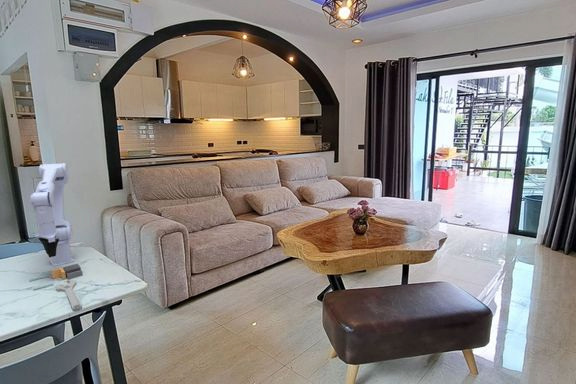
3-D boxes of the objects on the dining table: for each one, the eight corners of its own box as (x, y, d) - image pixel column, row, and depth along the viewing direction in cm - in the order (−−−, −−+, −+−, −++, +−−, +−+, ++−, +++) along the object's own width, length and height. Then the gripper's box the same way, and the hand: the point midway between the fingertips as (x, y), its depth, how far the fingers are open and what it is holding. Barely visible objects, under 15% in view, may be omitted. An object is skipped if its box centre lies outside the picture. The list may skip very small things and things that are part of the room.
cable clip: (63, 273, 136) (62, 268, 135) (77, 269, 139) (76, 264, 139) (68, 279, 130) (67, 274, 129) (82, 275, 133) (82, 270, 133)
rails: (29, 281, 129) (29, 280, 129) (47, 276, 133) (47, 275, 133) (33, 291, 121) (33, 289, 121) (53, 285, 125) (53, 284, 125)
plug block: (64, 275, 135) (63, 267, 134) (78, 271, 138) (77, 263, 137) (67, 279, 131) (65, 270, 130) (81, 275, 134) (80, 267, 134)
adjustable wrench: (83, 310, 109) (82, 305, 109) (59, 317, 105) (58, 312, 105) (75, 282, 129) (75, 278, 128) (55, 287, 125) (55, 282, 124)
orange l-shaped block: (52, 277, 132) (51, 270, 131) (63, 274, 134) (62, 267, 133) (55, 281, 128) (54, 274, 128) (66, 278, 131) (64, 271, 130)
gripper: (30, 220, 133) (35, 253, 135) (36, 228, 122) (42, 263, 125) (51, 217, 137) (56, 248, 140) (59, 224, 127) (64, 257, 130)
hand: (51, 255), depth 133 cm, fingers open, 4 cm apart
